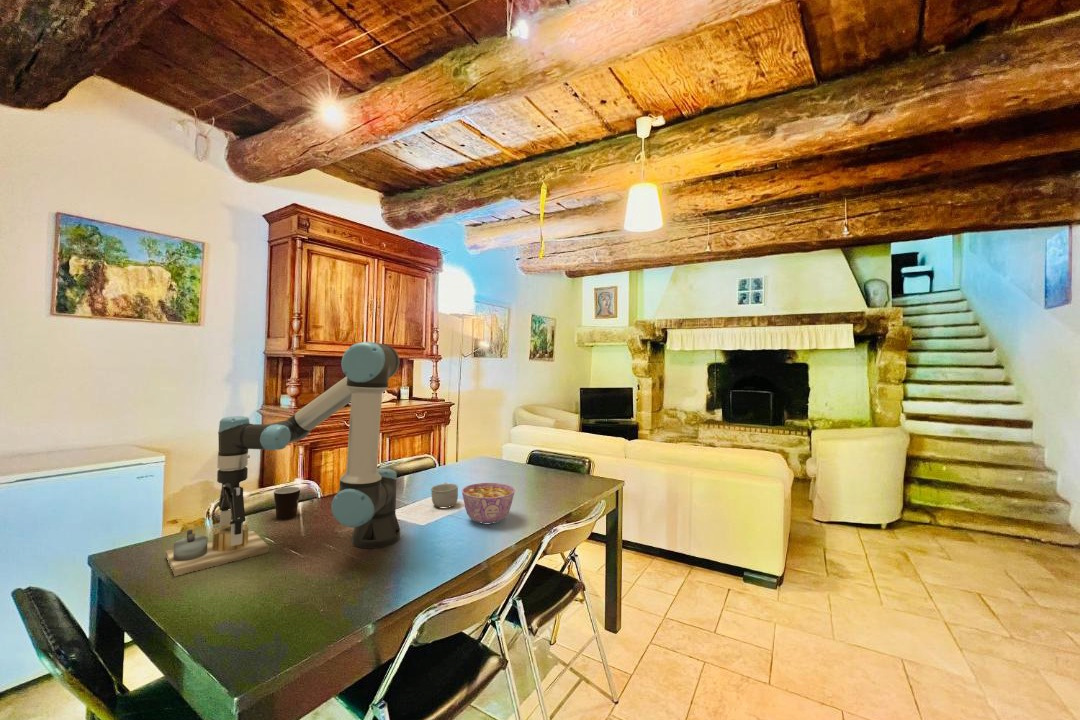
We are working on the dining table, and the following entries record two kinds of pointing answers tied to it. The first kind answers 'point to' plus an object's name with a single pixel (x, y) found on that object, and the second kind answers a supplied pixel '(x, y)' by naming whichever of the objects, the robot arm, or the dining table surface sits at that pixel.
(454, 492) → the teacup
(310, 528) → the dining table surface
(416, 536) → the dining table surface
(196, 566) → the birch board
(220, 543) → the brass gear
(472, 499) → the bowl of food
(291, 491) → the coffee mug
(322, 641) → the dining table surface
